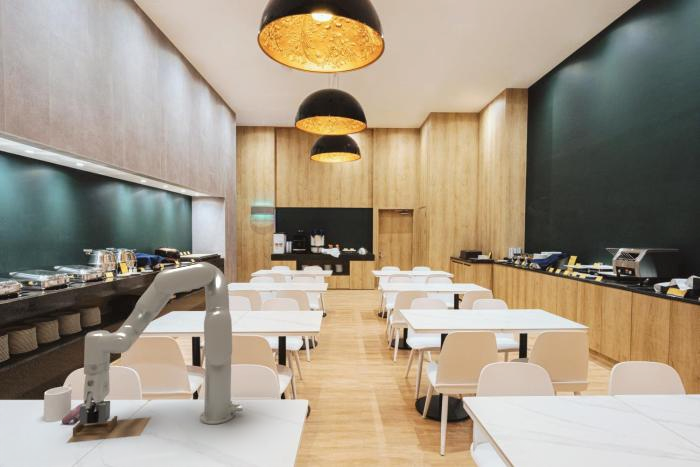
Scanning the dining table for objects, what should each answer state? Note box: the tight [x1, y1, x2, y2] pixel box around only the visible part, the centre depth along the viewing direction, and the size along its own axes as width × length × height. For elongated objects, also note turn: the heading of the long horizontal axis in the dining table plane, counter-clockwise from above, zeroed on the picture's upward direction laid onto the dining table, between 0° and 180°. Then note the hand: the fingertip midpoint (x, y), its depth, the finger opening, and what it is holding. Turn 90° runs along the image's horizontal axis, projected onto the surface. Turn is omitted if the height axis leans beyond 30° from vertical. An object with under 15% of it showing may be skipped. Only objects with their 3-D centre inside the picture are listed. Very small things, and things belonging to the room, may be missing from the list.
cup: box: [43, 383, 73, 423], centre depth 147 cm, size 8×12×10 cm
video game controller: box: [61, 402, 84, 425], centre depth 143 cm, size 10×5×7 cm, turn 170°
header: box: [65, 415, 152, 444], centre depth 134 cm, size 22×14×4 cm, turn 103°
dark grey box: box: [79, 400, 111, 425], centre depth 133 cm, size 8×4×6 cm, turn 103°
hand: (95, 419), depth 133 cm, fingers closed on dark grey box, 3 cm apart
